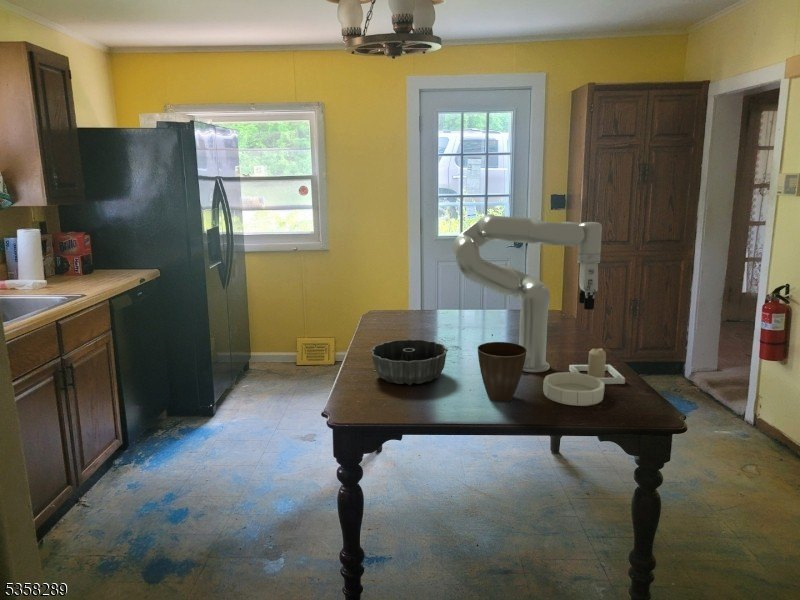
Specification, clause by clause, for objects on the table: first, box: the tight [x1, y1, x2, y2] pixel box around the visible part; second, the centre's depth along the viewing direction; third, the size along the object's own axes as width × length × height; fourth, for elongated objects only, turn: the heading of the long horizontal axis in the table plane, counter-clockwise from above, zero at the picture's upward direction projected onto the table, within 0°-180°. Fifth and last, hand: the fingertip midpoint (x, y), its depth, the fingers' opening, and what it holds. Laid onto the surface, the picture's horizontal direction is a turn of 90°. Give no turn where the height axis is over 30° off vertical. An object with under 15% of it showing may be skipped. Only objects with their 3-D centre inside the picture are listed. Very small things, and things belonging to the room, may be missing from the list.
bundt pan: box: [369, 338, 449, 386], centre depth 201 cm, size 26×26×10 cm
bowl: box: [542, 371, 606, 407], centre depth 184 cm, size 18×18×4 cm
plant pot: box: [477, 341, 527, 403], centre depth 180 cm, size 15×15×16 cm
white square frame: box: [568, 364, 626, 385], centre depth 200 cm, size 14×14×2 cm
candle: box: [587, 347, 607, 378], centre depth 199 cm, size 6×6×10 cm
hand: (586, 306), depth 206 cm, fingers open, 9 cm apart
